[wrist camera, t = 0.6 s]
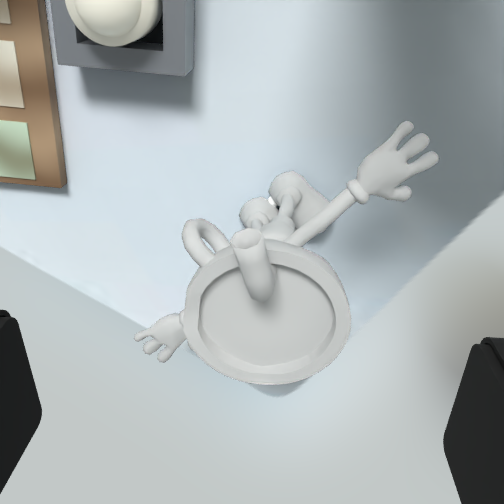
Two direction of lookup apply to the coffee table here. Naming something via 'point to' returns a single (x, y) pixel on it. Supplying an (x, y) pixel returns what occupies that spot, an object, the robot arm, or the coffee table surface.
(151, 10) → the dome
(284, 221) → the cartoon character
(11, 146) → the board
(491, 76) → the coffee table surface
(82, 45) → the dome housing
